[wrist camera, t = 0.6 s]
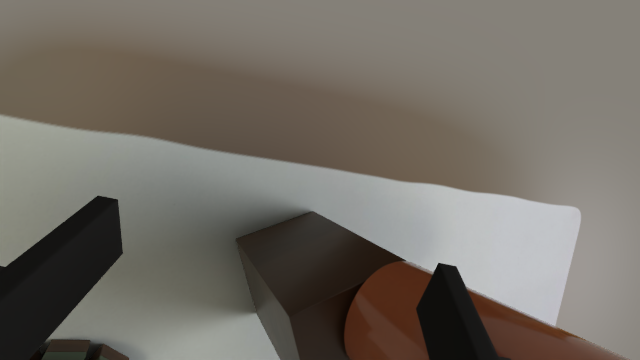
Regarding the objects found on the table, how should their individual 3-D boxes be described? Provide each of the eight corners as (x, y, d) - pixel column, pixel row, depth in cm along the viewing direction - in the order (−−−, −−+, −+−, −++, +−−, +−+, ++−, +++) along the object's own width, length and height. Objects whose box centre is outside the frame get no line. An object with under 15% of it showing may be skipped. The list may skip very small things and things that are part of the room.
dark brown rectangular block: (235, 238, 30) (289, 316, 17) (313, 211, 33) (407, 260, 20) (256, 313, 32) (318, 433, 19) (328, 281, 35) (422, 365, 22)
